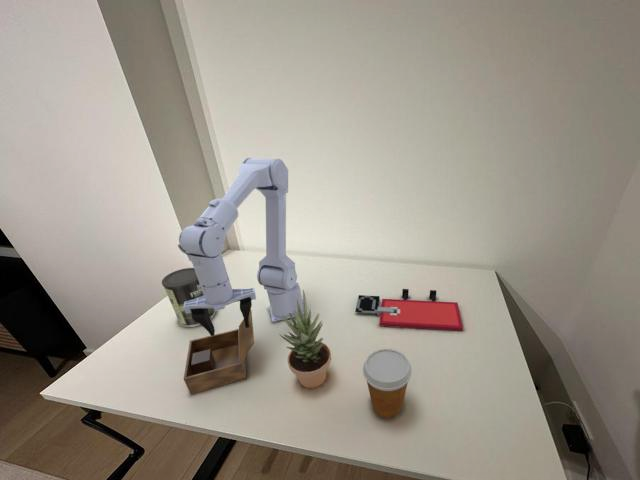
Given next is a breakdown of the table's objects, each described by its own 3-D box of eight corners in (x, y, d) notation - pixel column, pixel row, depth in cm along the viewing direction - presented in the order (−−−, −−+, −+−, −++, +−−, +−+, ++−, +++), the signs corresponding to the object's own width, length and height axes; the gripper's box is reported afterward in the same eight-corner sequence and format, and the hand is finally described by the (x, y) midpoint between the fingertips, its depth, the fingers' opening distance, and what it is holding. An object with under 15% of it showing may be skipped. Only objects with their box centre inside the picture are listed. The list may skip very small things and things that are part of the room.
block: (215, 360, 79) (210, 348, 77) (214, 372, 76) (209, 360, 74) (197, 365, 78) (192, 353, 76) (196, 377, 75) (190, 365, 73)
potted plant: (316, 402, 68) (300, 311, 56) (283, 384, 73) (262, 296, 60) (342, 370, 76) (333, 283, 63) (311, 356, 80) (297, 272, 67)
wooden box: (244, 342, 85) (239, 328, 83) (246, 378, 75) (241, 363, 72) (195, 355, 82) (189, 340, 79) (190, 394, 71) (183, 379, 69)
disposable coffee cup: (362, 388, 71) (360, 349, 65) (404, 384, 72) (406, 344, 65) (366, 427, 63) (364, 387, 57) (414, 423, 63) (417, 382, 57)
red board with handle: (359, 294, 102) (352, 325, 90) (359, 286, 101) (352, 317, 88) (455, 298, 99) (462, 331, 86) (456, 291, 97) (463, 324, 85)
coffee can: (222, 307, 99) (209, 268, 92) (202, 329, 91) (186, 288, 83) (193, 304, 101) (178, 266, 94) (170, 325, 93) (152, 285, 85)
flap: (238, 326, 82) (240, 326, 82) (239, 361, 72) (241, 361, 72) (250, 309, 81) (251, 309, 81) (252, 342, 70) (254, 342, 71)
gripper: (173, 297, 62) (195, 348, 69) (250, 282, 66) (263, 332, 73) (179, 279, 68) (198, 328, 75) (249, 266, 72) (261, 314, 79)
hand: (230, 329), depth 74 cm, fingers open, 7 cm apart
